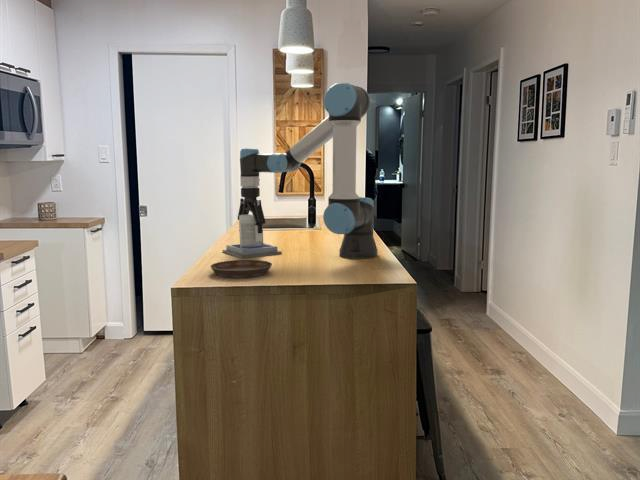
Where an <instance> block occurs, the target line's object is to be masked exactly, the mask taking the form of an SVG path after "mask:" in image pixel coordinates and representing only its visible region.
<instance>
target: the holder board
mask: <svg viewBox="0 0 640 480" xmlns="http://www.w3.org/2000/svg"><path fill="white" fill-rule="evenodd" d="M225 246H226V249H222V253H224V254H226V255H230V256H232V257H236V258H239V259H240V260H244V259H250V258H258V257H259V258H260V257H267V256H268V257H269V256H275V255H276V256H277V255H282V254H283V252H282V251H281V250H279V249H278V246H277V245H274V244H273V245H272V244H269V243H264V242H263V248H254V249H245V250H244V249H241V248H240V243H236V244H227V245H225Z"/></svg>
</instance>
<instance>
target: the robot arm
mask: <svg viewBox="0 0 640 480" xmlns="http://www.w3.org/2000/svg"><path fill="white" fill-rule="evenodd" d="M370 98H371V97H370V95H369V93H368V92H367V90H366V89H364V88H363V87H361V86H358V85H353V84H350V83H348V82H337V83H334V84H333V85H331V86H330V87H329V88H328V89H327V90H326V92H325V94H324V97H323V106H324V109H325V111H326V112H327V113H328V116H327V117H326V118H324V119H323V120H322V121H321V122H320V123H318V124H317V125H316V126H315V127H314V128H312V129H311V130H310V131H309V132H308V133H306V134H305V135H304V136H303V137H301V138H300V139H299V140H298V141H297V142H296V143H294V144H293V145H292V146H291V147H290V148H288V149H287V150H286V151H284V152H283V153H282V152H280V153H279V152H267V153H265V152H264V153H260V149H258V148H241V149H240V151H239V167H240V180H239V181H240V187H241V189H240V196H241V198H240V204H239V209H238V213H237V220H238V221H239V215H245V214H250V212H251V214H253V216H254V219H255V222H256V224H255V230H256V242H258V241H263V242H264V232H263V233H262V225H263V226H264V224H266V220H265V214H264V210H263V205H262V200H261V199H257V198H258V197H260V195H261V193H260V192H261V190H260V188H259V187H260V180H261V179H260V173H271V174H272V173H273V174H279V173H284V172H285V173H292V172H296V171H297V170H299V169H300V167H301V164H302V163H303V162H304V161H305V160H306V159H308V158H309V157H311V156H312V155H313V154H314V153H315V152H317V151H318V150H319V149H320V148H322V147H323V146H324V145H325V144H327V143H328V142H329V141H331V139H332V192H331V194H330V195H329V196H328V200H327V201H328V205H327V207H326V208H325V209H324V211H323V214H322V215H323V217H322V218H323V223H324V225H325V227H326V228H327V230H328V231H330V232H331V233H333V234H336V235H343V238H342V241H341V245H340V247H339V256H340V257H342V258H347V259H370V258H376V257H378V254H379V253H378V252H379V251H378V248H377V243H376V242H375V238H374V217H375V216H374V215H375V214H374V209H375V205H374V199H373V198H372V197H371V198H370V197H362V196H359V195H358V194H357V192H356V191H357V184H356V183H357V127H358V126H359V125H360V124H361V122H362V118H364V116H365V115H366V114H367V113H368V111H369V110H370V106H371V99H370ZM262 220H263V221H262Z"/></svg>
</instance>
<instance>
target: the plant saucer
mask: <svg viewBox="0 0 640 480" xmlns="http://www.w3.org/2000/svg"><path fill="white" fill-rule="evenodd" d="M272 265H273V263H272V262H270V261H266V260H260V259H259V260H257V259H238V260H237V259H235V260H233V259H232V260H225V261H219V262H216V263H215V262H214V263H212V264H211V265H210V268H211V270H212V272H214V274H216V275H217V276H219V277H221V278H230V279H231V278H232V279H244V278H245V279H247V278H255V277H259V276H263V275H265V274H266V273H267V272H268V271H269V270H270V269H271V267H272Z"/></svg>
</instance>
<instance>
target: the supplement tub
mask: <svg viewBox="0 0 640 480" xmlns="http://www.w3.org/2000/svg"><path fill="white" fill-rule="evenodd" d="M262 221H263V220H262ZM255 224H256V222H255V219H254V216H253V214H252V213H249V214H245V215H239V220H238V226H239V227H238V228H239V244H240V248H241V249H244V250H245V249H254V248H263V243H264V240H263V241H258V242H256V230H255ZM262 233H263V234H264V224H263V225H262Z"/></svg>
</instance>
